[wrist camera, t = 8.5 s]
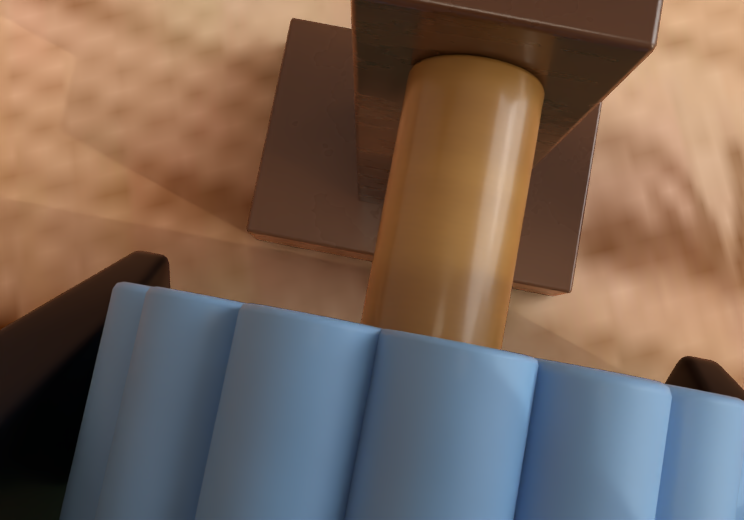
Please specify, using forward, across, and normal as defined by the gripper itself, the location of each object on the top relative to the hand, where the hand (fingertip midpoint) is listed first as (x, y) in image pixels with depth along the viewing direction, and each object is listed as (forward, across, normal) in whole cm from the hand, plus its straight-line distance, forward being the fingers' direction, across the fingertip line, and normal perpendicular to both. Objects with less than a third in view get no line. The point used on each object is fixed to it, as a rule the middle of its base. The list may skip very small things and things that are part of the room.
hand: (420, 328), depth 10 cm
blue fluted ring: (0, 0, +2) cm, 3 cm away
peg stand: (+8, 0, +5) cm, 9 cm away
